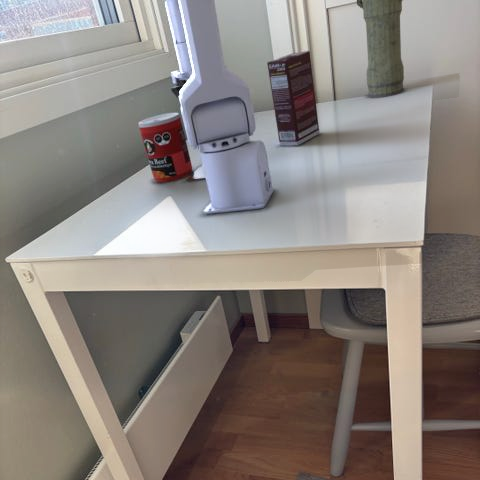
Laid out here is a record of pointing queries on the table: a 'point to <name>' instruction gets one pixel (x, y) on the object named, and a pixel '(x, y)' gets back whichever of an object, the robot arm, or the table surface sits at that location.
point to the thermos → (383, 46)
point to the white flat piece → (197, 174)
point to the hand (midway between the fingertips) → (208, 123)
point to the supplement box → (294, 98)
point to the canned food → (166, 147)
